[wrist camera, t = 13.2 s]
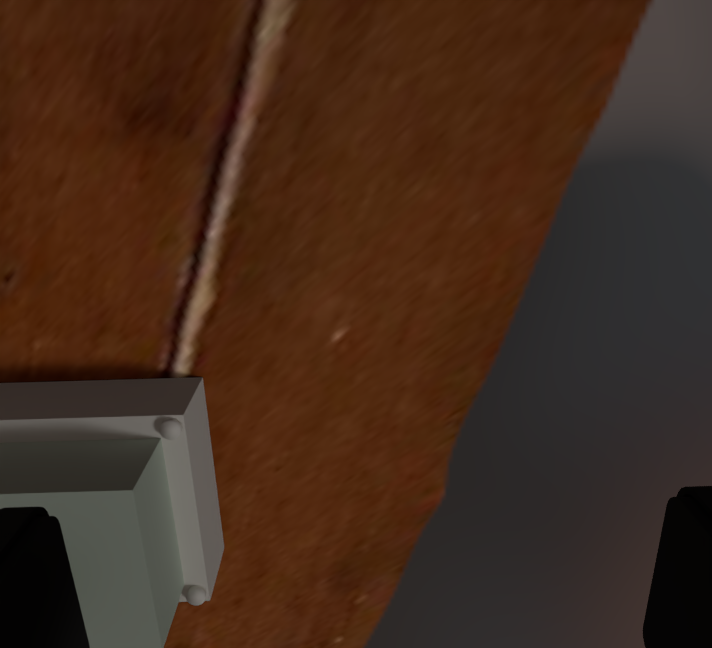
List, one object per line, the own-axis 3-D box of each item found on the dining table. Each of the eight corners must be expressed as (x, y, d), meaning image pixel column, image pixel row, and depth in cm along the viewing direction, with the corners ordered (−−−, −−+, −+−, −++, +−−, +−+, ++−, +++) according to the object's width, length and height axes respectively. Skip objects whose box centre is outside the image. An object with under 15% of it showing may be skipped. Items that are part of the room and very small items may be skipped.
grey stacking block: (-11, 383, 39) (-123, 472, 30) (202, 377, 39) (158, 464, 30) (34, 553, 44) (-49, 676, 35) (224, 547, 44) (191, 668, 35)
